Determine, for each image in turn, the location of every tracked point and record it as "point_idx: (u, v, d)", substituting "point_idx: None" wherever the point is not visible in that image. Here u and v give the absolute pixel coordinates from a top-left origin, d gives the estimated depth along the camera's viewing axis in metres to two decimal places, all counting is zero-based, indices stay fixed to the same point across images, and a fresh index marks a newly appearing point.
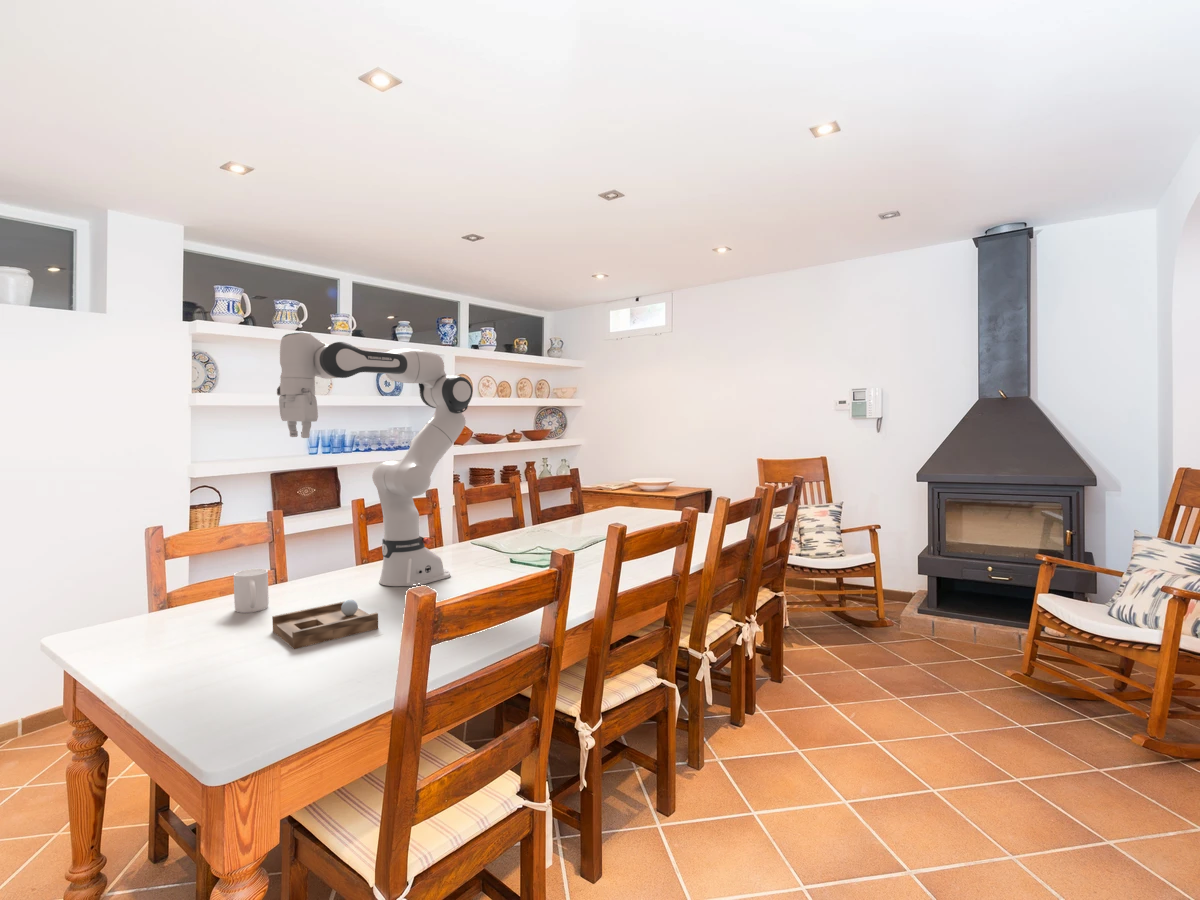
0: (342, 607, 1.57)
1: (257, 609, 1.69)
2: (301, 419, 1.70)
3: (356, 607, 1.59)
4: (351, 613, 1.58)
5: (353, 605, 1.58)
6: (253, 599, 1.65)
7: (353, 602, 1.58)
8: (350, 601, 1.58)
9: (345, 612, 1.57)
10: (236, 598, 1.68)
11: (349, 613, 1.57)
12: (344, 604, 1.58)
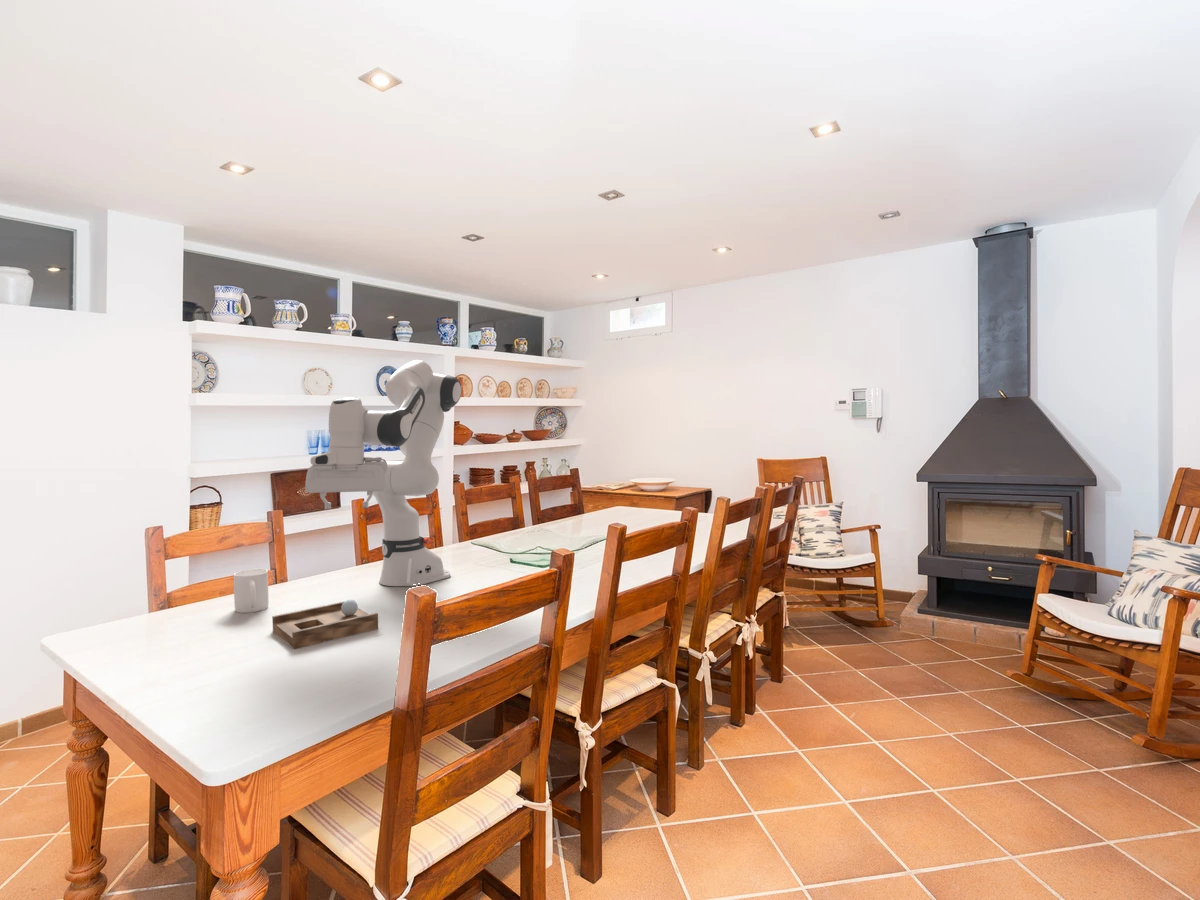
0: (342, 607, 1.57)
1: (257, 609, 1.69)
2: (375, 489, 1.68)
3: (356, 607, 1.59)
4: (351, 613, 1.58)
5: (353, 605, 1.58)
6: (253, 599, 1.65)
7: (353, 602, 1.58)
8: (350, 601, 1.58)
9: (345, 612, 1.57)
10: (236, 598, 1.68)
11: (349, 613, 1.57)
12: (344, 604, 1.58)
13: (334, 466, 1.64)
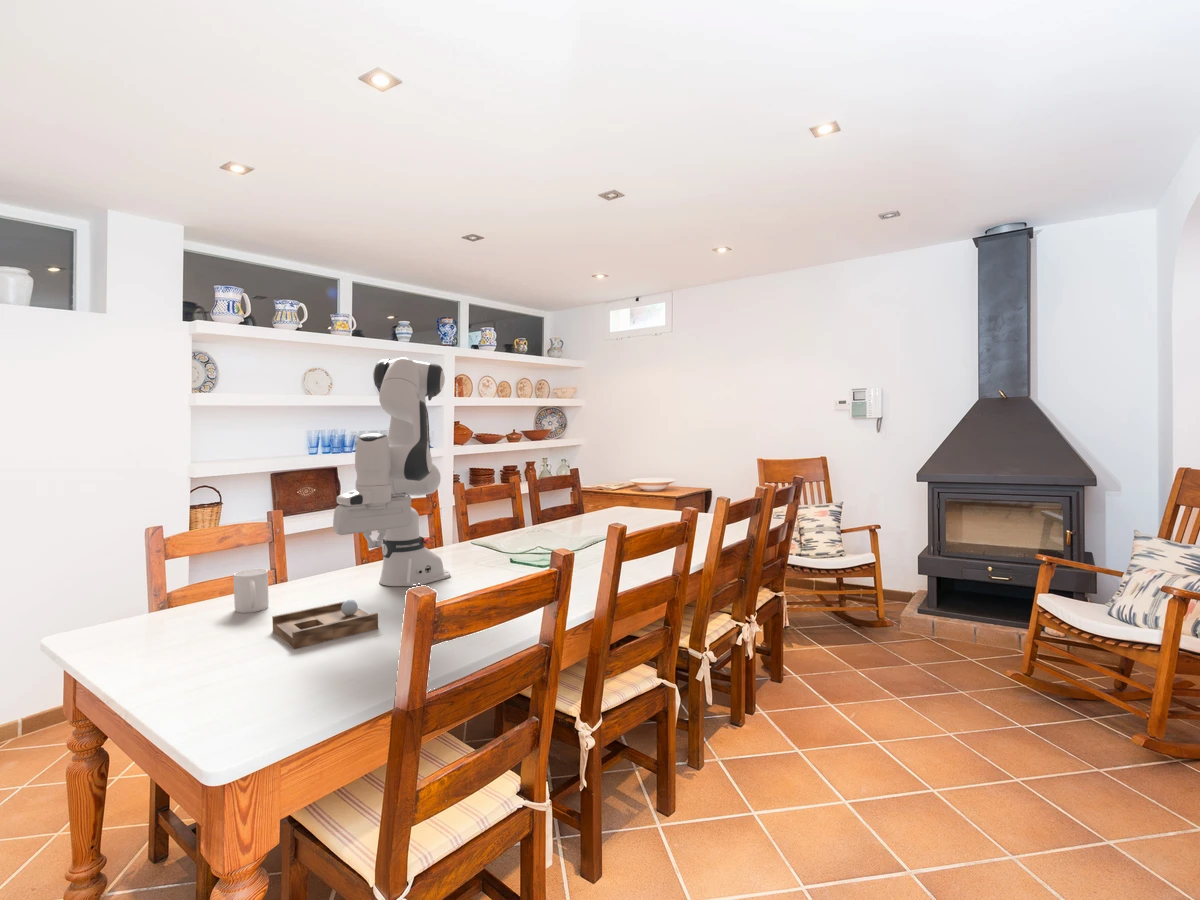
0: (342, 607, 1.57)
1: (257, 609, 1.69)
2: (403, 525, 1.66)
3: (356, 607, 1.59)
4: (351, 613, 1.58)
5: (353, 605, 1.58)
6: (253, 599, 1.65)
7: (353, 602, 1.58)
8: (350, 601, 1.58)
9: (345, 612, 1.57)
10: (236, 598, 1.68)
11: (349, 613, 1.57)
12: (344, 604, 1.58)
13: (366, 505, 1.59)
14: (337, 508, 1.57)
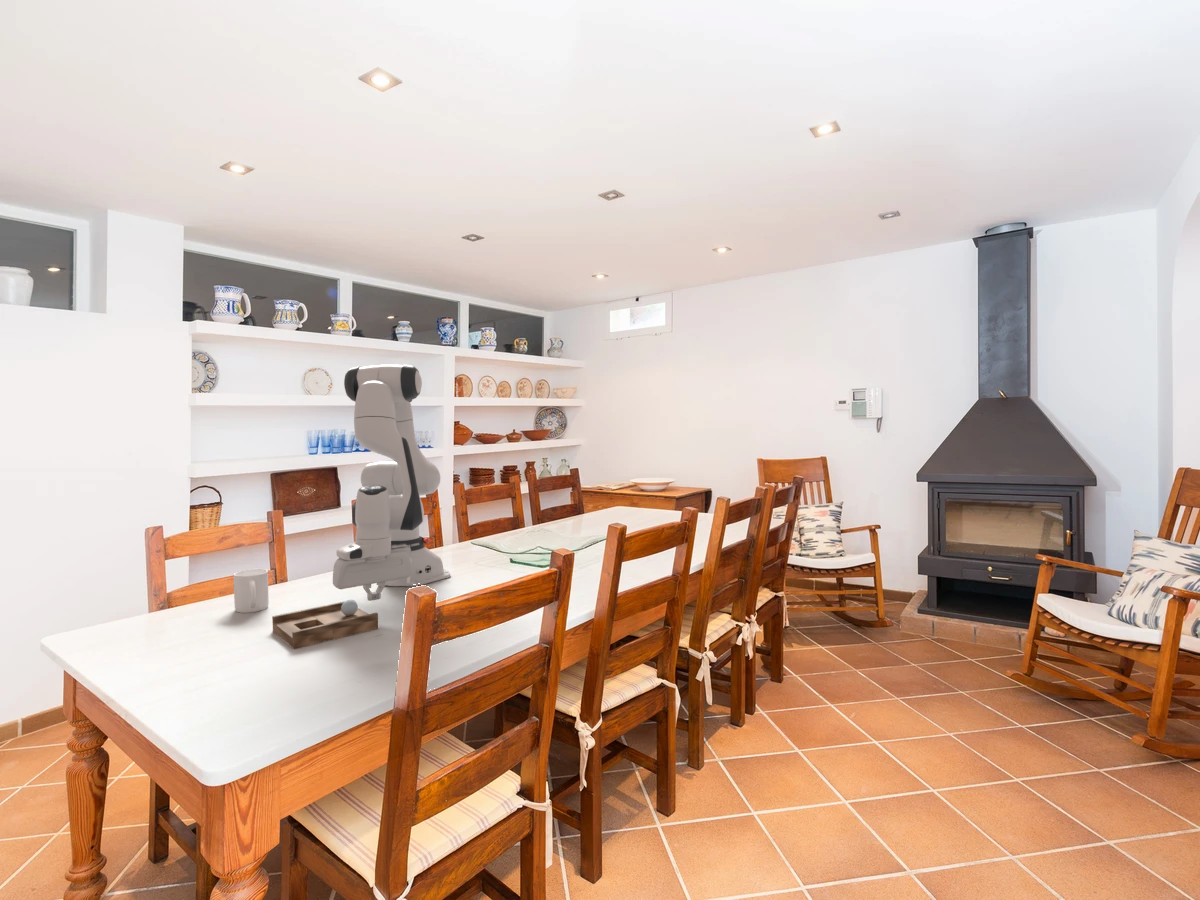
0: (342, 607, 1.57)
1: (257, 609, 1.69)
2: (403, 576, 1.67)
3: (356, 607, 1.59)
4: (351, 613, 1.58)
5: (353, 605, 1.58)
6: (253, 599, 1.65)
7: (353, 602, 1.58)
8: (350, 601, 1.58)
9: (345, 612, 1.57)
10: (236, 598, 1.68)
11: (349, 613, 1.57)
12: (344, 604, 1.58)
13: (365, 558, 1.59)
14: (337, 562, 1.57)
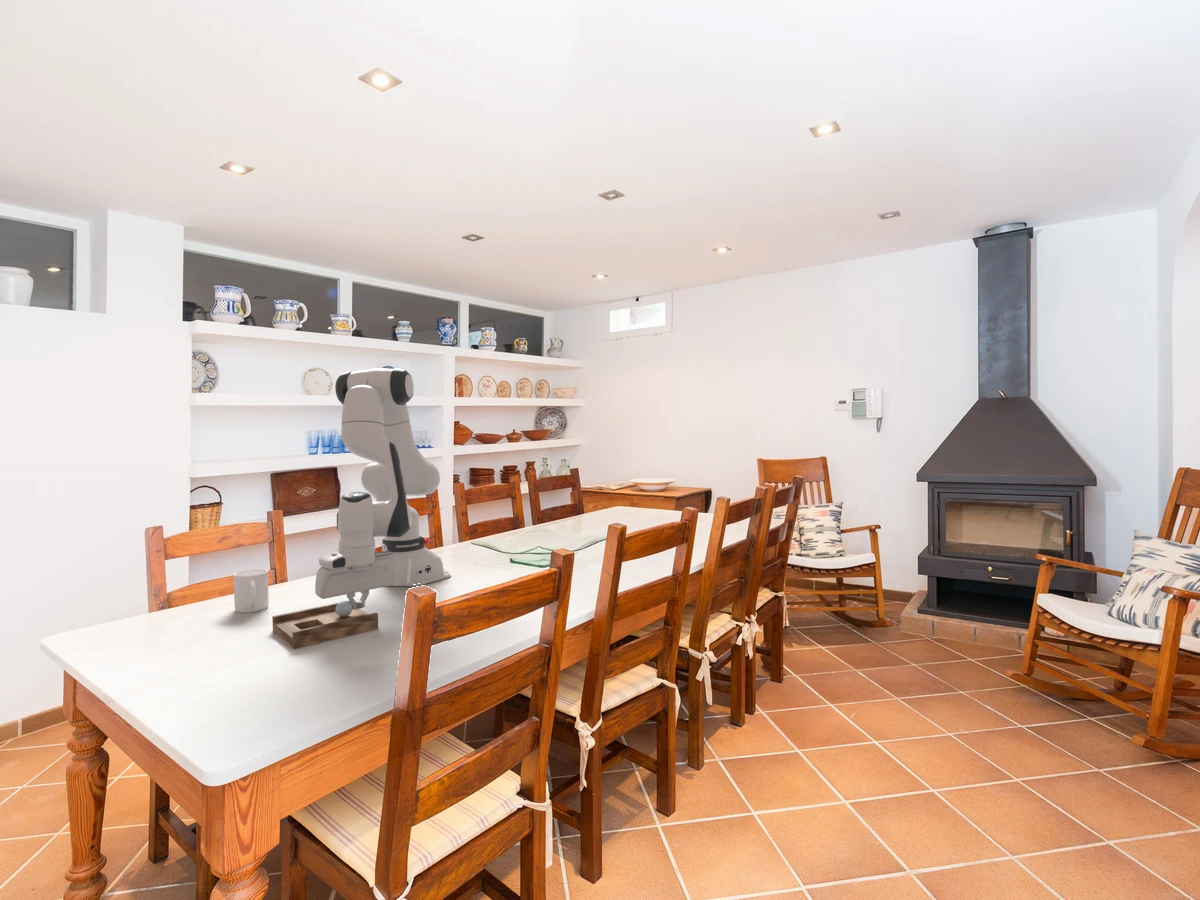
0: (337, 613, 1.57)
1: (257, 609, 1.69)
2: (387, 584, 1.64)
3: (349, 606, 1.57)
4: (348, 613, 1.57)
5: (345, 607, 1.56)
6: (253, 599, 1.65)
7: (343, 604, 1.57)
8: (340, 605, 1.56)
9: (343, 616, 1.57)
10: (236, 598, 1.68)
11: (347, 614, 1.57)
12: (337, 610, 1.56)
13: (349, 567, 1.56)
14: (319, 571, 1.54)
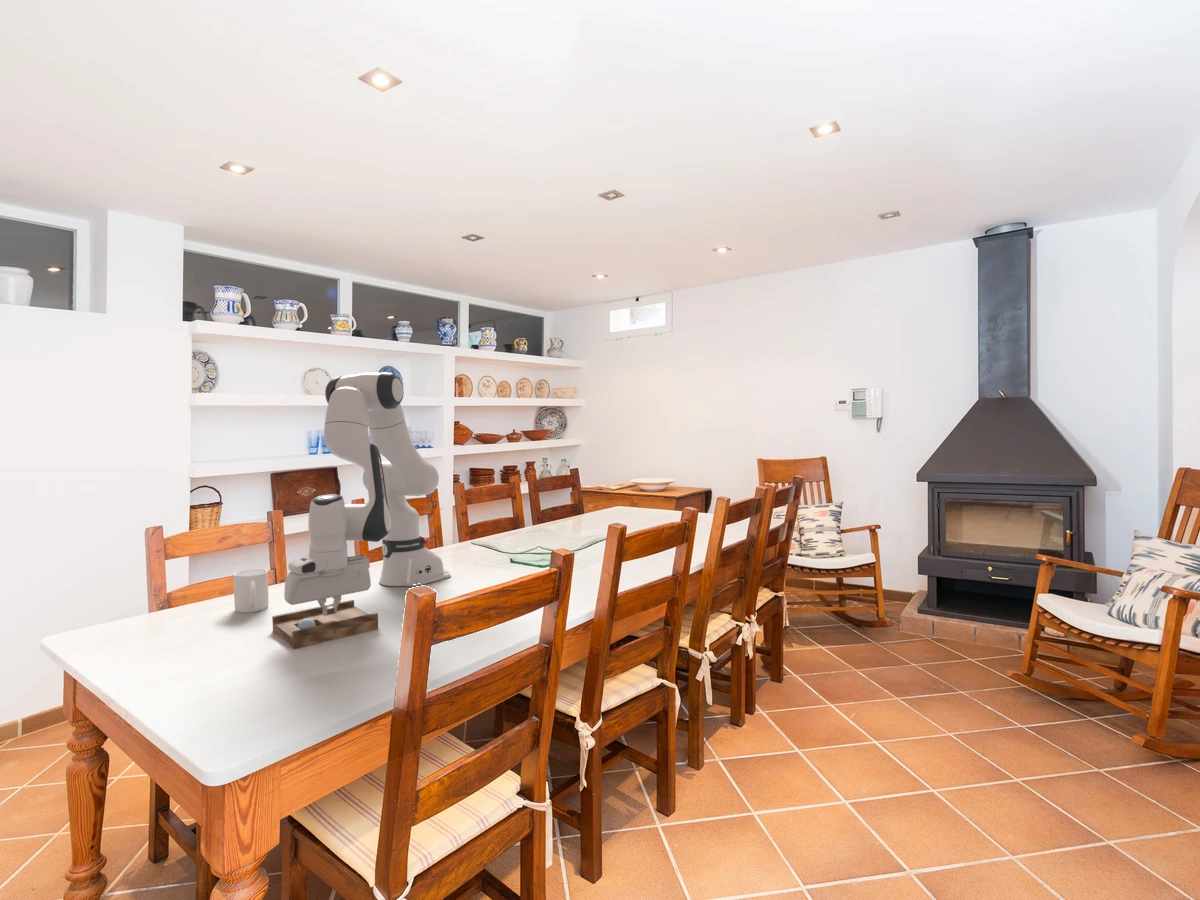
0: (300, 623, 1.50)
1: (257, 609, 1.69)
2: (361, 589, 1.59)
3: None
4: None
5: (311, 625, 1.51)
6: (253, 599, 1.65)
7: (313, 622, 1.52)
8: (310, 620, 1.51)
9: None
10: (236, 598, 1.68)
11: None
12: (303, 620, 1.51)
13: (319, 572, 1.51)
14: (288, 576, 1.49)
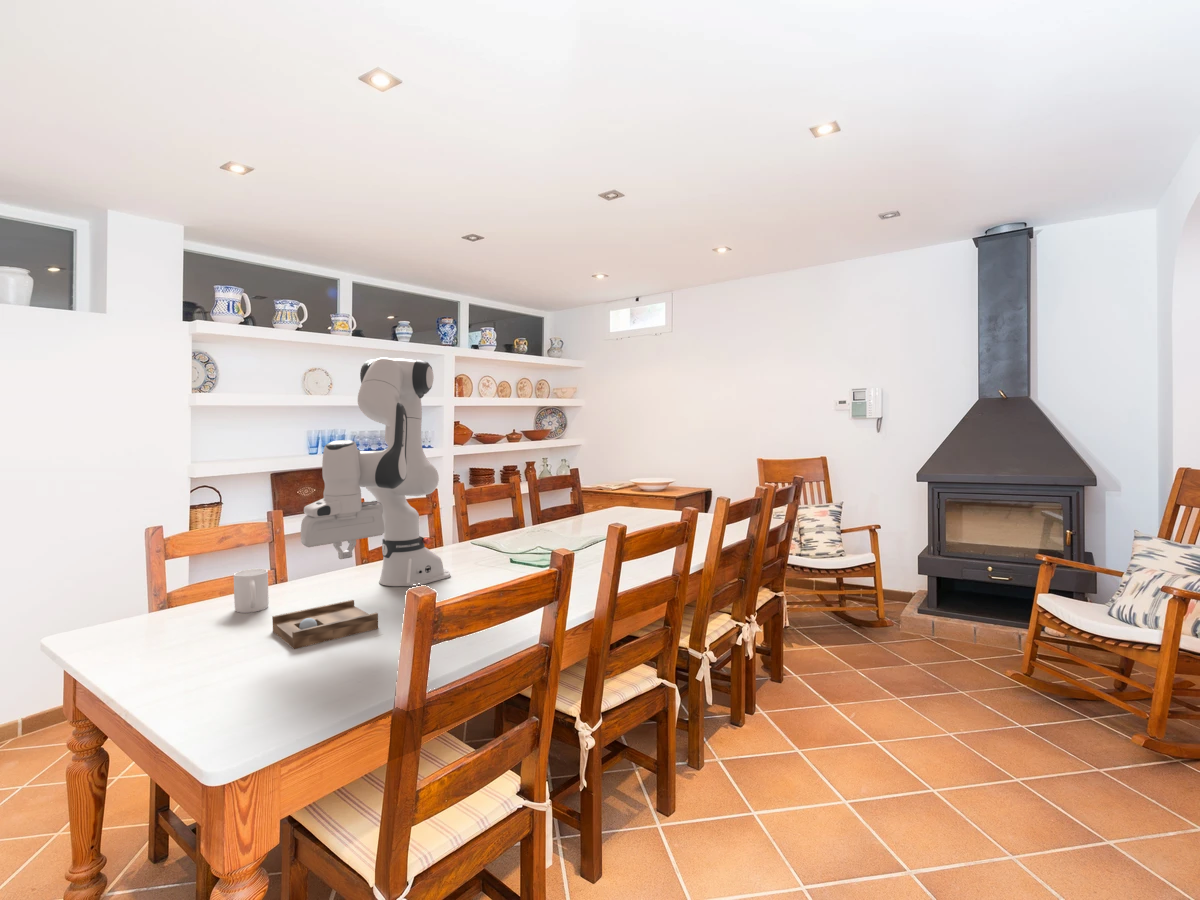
0: (303, 621, 1.51)
1: (257, 609, 1.69)
2: (375, 534, 1.61)
3: None
4: None
5: (314, 625, 1.51)
6: (253, 599, 1.65)
7: (315, 622, 1.52)
8: (313, 620, 1.52)
9: (302, 627, 1.50)
10: (236, 598, 1.68)
11: None
12: (306, 619, 1.51)
13: (334, 516, 1.54)
14: (304, 519, 1.51)
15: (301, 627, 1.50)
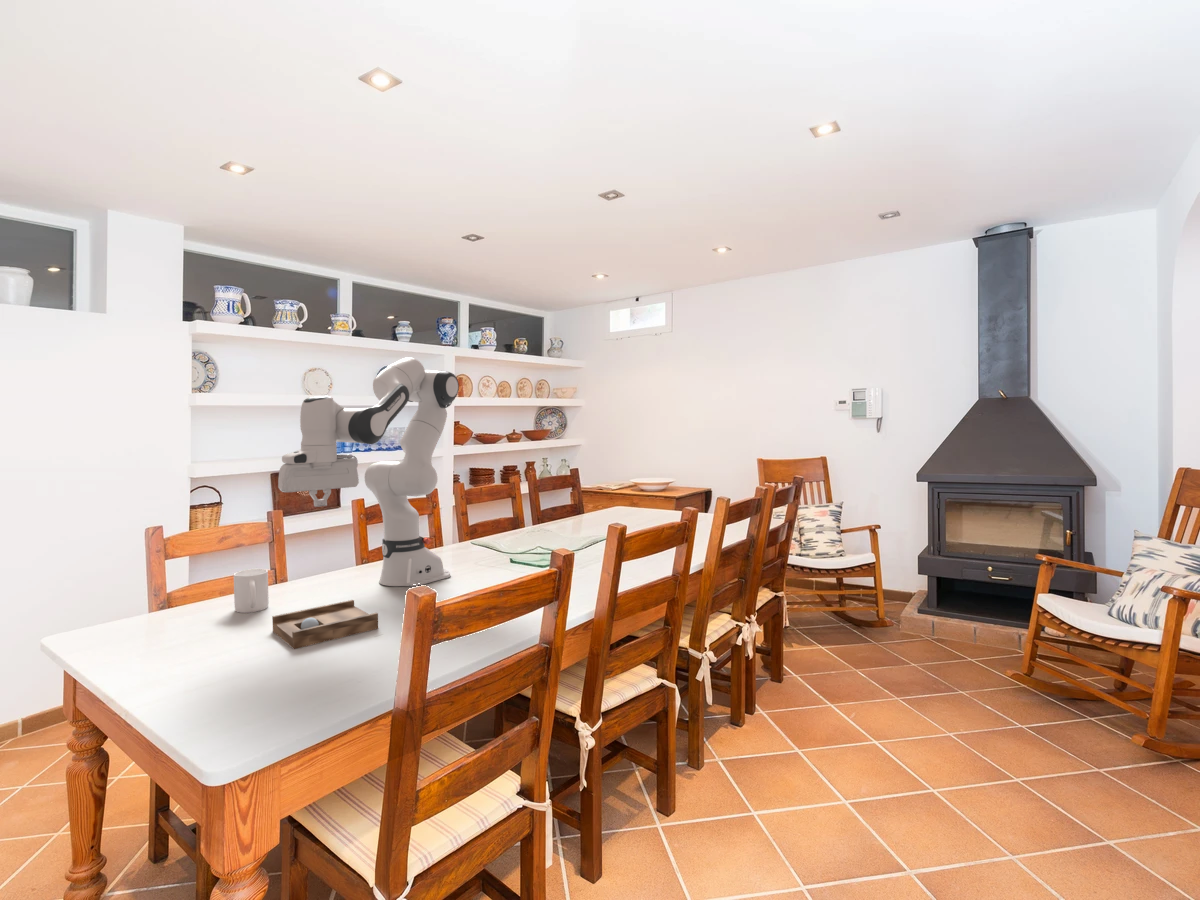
0: (305, 620, 1.51)
1: (257, 609, 1.69)
2: (349, 485, 1.72)
3: None
4: None
5: (315, 625, 1.51)
6: (253, 599, 1.65)
7: (317, 623, 1.52)
8: (315, 620, 1.52)
9: (304, 626, 1.50)
10: (236, 598, 1.68)
11: None
12: (309, 618, 1.52)
13: (310, 464, 1.64)
14: (282, 467, 1.62)
15: (303, 625, 1.50)
